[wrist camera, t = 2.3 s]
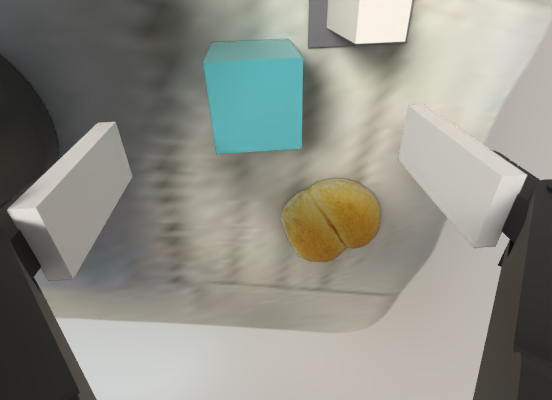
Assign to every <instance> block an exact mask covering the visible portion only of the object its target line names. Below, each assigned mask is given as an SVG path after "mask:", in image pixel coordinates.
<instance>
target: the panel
mask: <svg viewBox="0 0 552 400" xmlns="http://www.w3.org/2000/svg"><path fill="white" fill-rule="evenodd" d="M413 3H414V0H412V5H411V11H410V17H409V22H408V28H407V34H406V40H405V42H386V43H364V44H355V43H353V42H351V41H349V40H348V39H346V38H344V37H342V36H340V35H339V34H337V33H335V32H333V31H332V30H330V29H328V28H327V10H328V0H309V32H308V48H313V47H334V46H355V45H376V44H398V43H407V37H408V31H409V26H410V20H411V14H412V9H413Z"/></svg>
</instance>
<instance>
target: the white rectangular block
mask: <svg viewBox="0 0 552 400" xmlns="http://www.w3.org/2000/svg"><path fill="white" fill-rule="evenodd" d="M411 5H412V0H328V10H327V28H328V29H330V30H332V31H333V32H335V33H337V34H339V35H340V36H342V37H344V38H346V39H348V40H349V41H351V42H353V43H355V44H364V43H386V42H405V40H406V34H407V28H408V22H409V17H410V11H411Z"/></svg>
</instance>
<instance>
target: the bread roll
mask: <svg viewBox="0 0 552 400" xmlns="http://www.w3.org/2000/svg"><path fill="white" fill-rule="evenodd" d="M281 224H282V226H283V227H284V229H285V232H286V236H287V238H288V240H289V243H290V244H291V245H292V247H293V249H294V250H295V252H296V254H297V256H298V257H302V258H304V259H306V260H308V261H312V262H327V261H331V260H333V259H334V258H336V257H337V256H338V255H339V254H340V253H341V252H342V251H343V250H345V248H359V247H362V246H364V245H366V244H367V243H369V242H370V241H371V240H372V239H373V238H374V236H375V235H376V233H377V231H378V228H379V224H380V207H379V203H378V201H377V199H376V198H375V196H374V195H373V194H372V192H371V191H370V190H368V189H367V188H365V187H364V186H362V185H361V184H359V183H357V182H355V181H352V180H348V179H343V178H331V179H326V180H322V181H319V182H317V183H315V184H313V185H312V186H311V187H309V188H308V189H306V190H303V191H301V192H299V193H297V194H296V195H295V196H293V197H292V198H291V199H290V200H289V201H288V202H287V204H286V205H285V207H284V208H283V210H282V214H281Z"/></svg>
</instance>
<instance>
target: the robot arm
mask: <svg viewBox="0 0 552 400" xmlns="http://www.w3.org/2000/svg"><path fill="white" fill-rule="evenodd" d="M398 161H399V162H400V163H401V164H402V165H403V166H404V168H405V169H406V170H407V171H408V172H409V173H410V175H411V176H412V177H413V178H414V179H415V180H416V182H417V183H418V184H419V185H420V186H421V187H422V189H423V190H424V191H425V192H426V193H427V194H428V196H429V197H430V198H431V199H432V200H433V201H434V203H435V204H436V205H437V206H438V207H439V208H440V210H441V211H442V212H443V213H444V214H445V215H446V217H447V218H448V219H449V220H450V221H451V222H452V224H453V225H454V226H455V227H456V228H457V229H458V231H459V232H460V233H461V234H462V235H463V236H464V238H465V239H466V240H467V241H468V242H469V243H470V245H471V246H472V247H473V248H481V247H494V246H496V244H497V242H498V240H499V237H500V235H501V233H502V232H503V233H504V234H505V235H506V236H507V237H508V238H509V239H510V240H509V243H508V245H507V247H506V249H505V251H504V253H503V255H502V257H501V260H500V262H499V264H498V266H501V267H502V268H501V273H500V277H499V282H498V286H497V291H496V296H495V300H494V305H493V310H492V314H491V319H490V324H489V328H488V333H487V338H486V342H485V346H484V351H483V356H482V361H481V365H480V370H479V374H478V379H477V383H476V388H475V393H474V397H473V400H552V180H539V179H538V178H536V177H535V176H533V175H532V174H530V173H529V172H527V171H526V170H524V169H523V168H521V167H520V166H517V164H515V163H514V162H512V161H510V160H509V159H508V158H507V157H505V156H504V155H502V154H500V153H499V152H496V151H493V150H491V149H489V148H487V147H486V146H484V145H483V144H481V143H480V142H478V141H477V140H476V139H474V138H473V137H471V136H470V135H468V134H467V133H465V132H464V131H462V130H461V129H459V128H458V127H457V126H455V125H454V124H452V123H451V122H449V121H448V120H446V119H445V118H443V117H442V116H440V115H439V114H438V113H436V112H435V111H433V110H432V109H430V108H429V107H427V106H426V105H408V109H407V114H406V120H405V125H404V130H403V135H402V140H401V145H400V151H399V156H398ZM132 177H133V176H132V173H131V170H130V166H129V163H128V160H127V157H126V153H125V150H124V147H123V144H122V140H121V137H120V134H119V131H118V127H117V124H116V122H100V123H97V124H96V125H95V126H94V127H93V128H92V129H91V130H90V131H89V132H88V133H86V134H85V135H84V136H83V137H82V138H81V139H80V140H79V141H78V142H77V143H76V144H75V145H74V146H73V147H72V148H71V149H70V150H69V151H68V152H67V153H66V154H64V155H63V156H62V157H61V158H60V159H59V160H58V143H57V137H56V133H55V130H54V126H53V124H52V121H51V119H50V117H49V114H48V112H47V110H46V109H45V107H44V105H43V103H42V102H41V100H40V98H39V97H38V95H37V94H36V93H35V91H34V90H33V88H32V87H31V86H30V85H29V83H28V82H27V81H26V80H25V79H24V78H23V77H22V75H21V74H20V73H19V72H18V71H17V70H16V69H15V68H14V67H13V66H12V65H11V64H10V63H9V62H7V61H6V60H5V59H4V58H3V57H2V56H1V55H0V400H96V398H95V396H94V394H93V392H92V390H91V388H90V386H89V384H88V382H87V380H86V378H85V376H84V374H83V372H82V370H81V368H80V366H79V364H78V362H77V361H76V358H75V356H74V354H73V352H72V351H71V349H70V347H69V344H68V343H67V340H66V338H65V337H64V335H63V333H62V331H61V329H60V327H59V325H58V323H57V321H56V319H55V317H54V315H53V313H52V311H51V309H50V307H49V305H48V303H47V301H46V299H45V297H44V295H43V293H42V291H41V289H40V287H39V285H38V284H37V282H36V280H35V279H34V276H35V274H36V273H37V272H38V270H39V269H40V267H41V269H42V271H43V272H44V274H45V276H46V278H47V279H48V281H54V280H67V279H74V277H75V275H76V274H77V272H78V270H79V268H80V267H81V265H82V263H83V261H84V260H85V258H86V256H87V255H88V253H89V251H90V249H91V248H92V246H93V244H94V242H95V241H96V239H97V237H98V236H99V234H100V232H101V230H102V229H103V227H104V225H105V223H106V222H107V220H108V218H109V217H110V215H111V213H112V211H113V210H114V208H115V206H116V204H117V203H118V201H119V199H120V198H121V196H122V194H123V192H124V191H125V189H126V187H127V185H128V184H129V182H130V180H131V179H132Z"/></svg>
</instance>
